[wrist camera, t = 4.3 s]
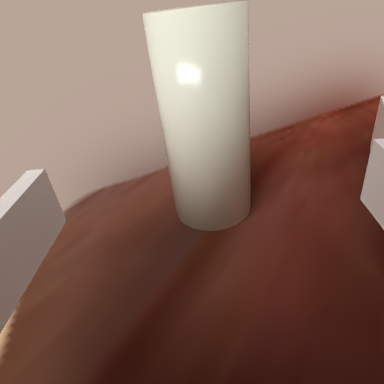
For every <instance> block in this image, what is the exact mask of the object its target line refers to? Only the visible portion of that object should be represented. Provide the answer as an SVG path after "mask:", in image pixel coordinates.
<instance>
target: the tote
mask: <svg viewBox="0 0 384 384" xmlns="http://www.w3.org/2000/svg"><path fill="white" fill-rule="evenodd" d="M382 138H384V96H381V98H380V103H379V107H378V112H377V117H376V121H375V126H374V131H373V135H372V140H371V144H370V150H371V147H372V142H373V139H382Z"/></svg>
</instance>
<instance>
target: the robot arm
mask: <svg viewBox="0 0 384 384" xmlns="http://www.w3.org/2000/svg"><path fill="white" fill-rule="evenodd" d="M360 199H361V201H362V202H363V203H364V205H365V206H366V207H367V209H368V210H369V211H370V212H371V214H372V215H373V216H374V218H375V219H376V220H377V222H378V223H379V224H380V226H381V227H382V228H383V230H384V138H382V139H373V142H372V147H371V151H370V156H369V161H368V165H367V170H366V174H365V179H364V183H363V188H362V193H361V197H360ZM65 223H66V218H65V216H64V214H63V211H62V209H61V207H60V204H59V202H58V200H57V197H56V195H55V192H54V190H53V187H52V185H51V183H50V180H49V178H48V175H47V173H46V171H45V169H37V170H27V171H26V172H25V173H24V174H23V175H22V176H21V177H20V178H19V179H18V180H17V182H16V183H15V184H14V185H13V186H12V187H11V188H10V189H9V190H8V191H7V192H6V193H5V194H4V195H3V196H2V197H1V198H0V333H1V331H2V329H3V328H4V326H5V324H6V323H7V321H8V319H9V318H10V316H11V314H12V312H13V311H14V309H15V307H16V306H17V304H18V302H19V301H20V299H21V297H22V295H23V294H24V292H25V290H26V289H27V287H28V285H29V284H30V282H31V280H32V279H33V277H34V275H35V273H36V272H37V270H38V268H39V267H40V265H41V263H42V262H43V260H44V258H45V257H46V255H47V253H48V251H49V250H50V248H51V246H52V245H53V243H54V241H55V240H56V238H57V236H58V235H59V233H60V231H61V229H62V228H63V226H64V224H65Z"/></svg>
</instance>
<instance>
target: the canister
mask: <svg viewBox="0 0 384 384" xmlns="http://www.w3.org/2000/svg"><path fill="white" fill-rule="evenodd" d="M142 16H143V22H144V28H145V34H146V40H147V45H148V51H149V57H150V63H151V69H152V74H153V80H154V85H155V92H156V98H157V103H158V109H159V115H160V120H161V126H162V132H163V138H164V144H165V150H166V155H167V161H168V167H169V173H170V179H171V184H172V190H173V196H174V202H175V208H176V213H177V216H178V218H179V220H180V221H181V222H182V223H183V224H185V225H186V226H188V227H191V228H193V229H197V230H203V231H218V230H224V229H227V228H231V227H233V226H235V225H237V224H239V223H241V222H242V221H243V220H244V219H245V218H246V217H247V216H248V215H249V213H250V209H251V184H250V105H249V104H250V102H249V99H250V98H249V9H248V0H234V1H223V2H214V3H206V4H198V5H190V6H183V7H176V8H169V9H162V10H156V11H151V12H146V13H143V14H142Z"/></svg>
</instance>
